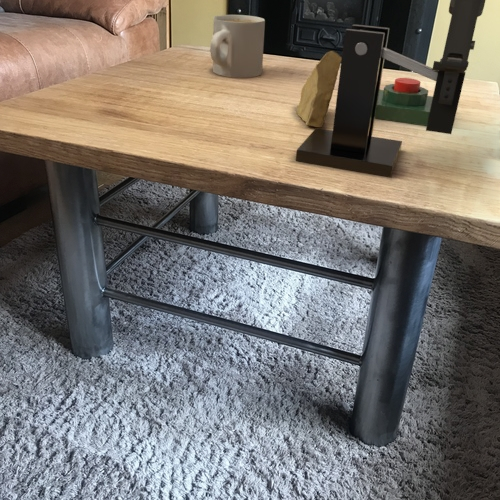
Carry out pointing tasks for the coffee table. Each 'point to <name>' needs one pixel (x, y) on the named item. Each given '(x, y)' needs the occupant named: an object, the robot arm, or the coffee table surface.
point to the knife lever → (409, 64)
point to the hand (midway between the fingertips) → (442, 115)
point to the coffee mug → (237, 45)
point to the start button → (407, 85)
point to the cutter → (355, 111)
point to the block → (404, 106)
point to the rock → (319, 90)
